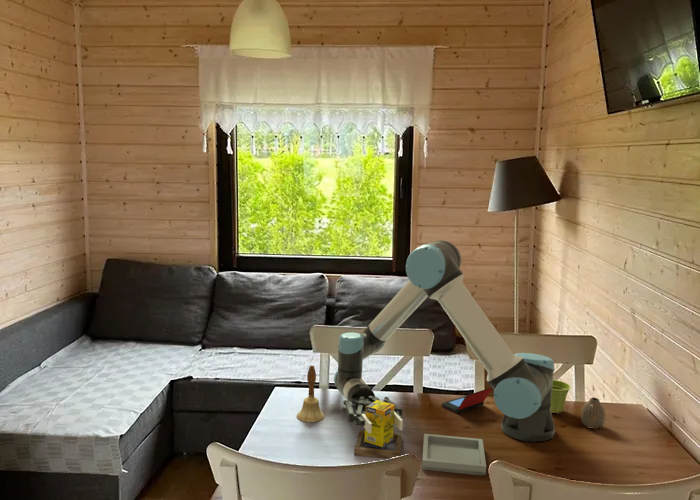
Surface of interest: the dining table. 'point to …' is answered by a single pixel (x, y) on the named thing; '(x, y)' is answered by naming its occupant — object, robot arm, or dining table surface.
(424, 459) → the grey tray
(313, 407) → the hand bell
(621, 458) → the dining table surface
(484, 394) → the handheld game console
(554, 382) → the plant pot
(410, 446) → the dining table surface
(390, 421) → the supplement box
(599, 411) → the vase
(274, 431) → the dining table surface
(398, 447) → the walnut collar
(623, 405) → the dining table surface
